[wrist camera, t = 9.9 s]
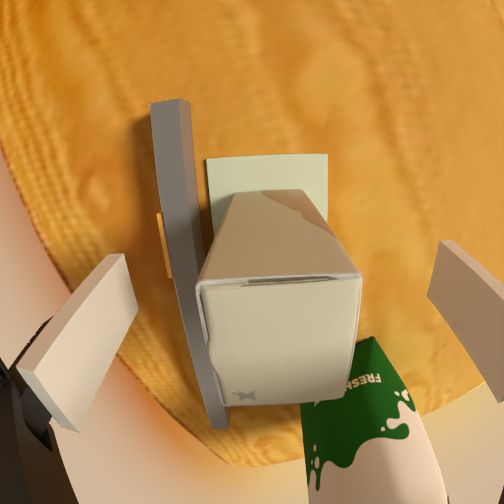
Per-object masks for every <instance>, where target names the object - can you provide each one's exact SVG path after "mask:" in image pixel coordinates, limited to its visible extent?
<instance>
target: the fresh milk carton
mask: <svg viewBox="0 0 504 504" xmlns="http://www.w3.org/2000/svg"><path fill="white" fill-rule="evenodd" d="M300 410H301V422H302V433H303V444H304V454H305V463H306V474H307V485H308V496H309V504H451V500H450V496H449V495H448V497H446V491H445V486H444V482H443V478H442V475H441V472H440V469H439V465H438V463H437V460H436V457H435V455H434V452H433V449H432V447H431V444H430V441H429V439H428V436H427V434H426V431H425V428H424V426H423V424H422V421H421V419H420V416H419V414H418V412H417V409H416V407H415V404H414V402H413V400H412V398H411V396H410V394H409V392H408V390H407V388H406V387H405V385H404V383H403V382H402V380H401V378H400V377H399V375H398V374H397V372H396V371H395V369H394V367H393V366H392V364H391V363H390V361H389V360H388V358H387V356H386V355H385V353H384V352H383V350H382V349H381V347H380V345H379V344H378V342H377V341H376V339H375V338H374V337H372V338H370V339H367V340H365V341H363V342H361V343H359V344H357V345H355V348H354V354H353V359H352V364H351V368H350V374H349V377H348V382H347V386H346V390H345V393H344V396H343V397H342V398H338V399H330V400H322V401H314V402H306V403H300ZM447 502H448V503H447Z"/></svg>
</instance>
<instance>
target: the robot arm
mask: <svg viewBox="0 0 504 504" xmlns="http://www.w3.org/2000/svg"><path fill="white" fill-rule="evenodd" d="M427 297H428V298H429V299H430V300H431V302H432V303H433V304H434V306H435V307H436V308H437V310H438V311H439V312H440V314H441V315H442V317H443V318H444V319H445V321H446V322H447V323H448V325H449V326H450V328H451V329H452V330H453V332H454V333H455V335H456V336H457V338H458V339H459V341H460V342H461V344H462V345H463V346H464V348H465V349H466V351H467V352H468V354H469V356H470V357H471V359H472V360H473V362H474V363H475V365H476V366H477V368H478V370H479V371H480V373H481V374H482V376H483V378H484V379H485V381H486V383H487V384H488V386H489V388H490V389H491V391H492V393H493V394H494V396H495V398H496V400H497V402H498V403H500V402H502V401H504V285H503V284H502V283H501V282H500V281H499V280H498V279H497V278H496V277H495V276H494V275H493V274H492V273H491V272H489V271H488V270H487V269H486V268H485V267H484V266H483V265H482V264H480V263H479V262H478V261H477V260H476V259H475V258H473V257H472V256H471V255H470V254H469V253H468V252H466V251H465V250H464V249H463V248H462V247H460V246H459V245H458V244H457V243H455V242H454V241H453V240H446V241H439V246H438V251H437V256H436V261H435V265H434V269H433V273H432V277H431V281H430V285H429V289H428V293H427ZM138 310H139V307H138V304H137V300H136V297H135V294H134V290H133V287H132V283H131V279H130V276H129V272H128V268H127V264H126V260H125V256H124V253H121V254H108V255H107V256H106V257H105V258H104V259H103V260H102V261H101V262H100V263H99V264H98V265H97V267H96V268H95V269H94V270H93V271H92V272H91V273H90V274H89V275H88V276H87V278H86V279H85V280H84V281H83V282H82V283H81V284H80V286H79V287H78V288H77V289H76V290H75V291H74V292H73V294H72V295H71V296H70V297H69V298H68V300H67V301H66V302H65V303H64V304H63V305H62V307H61V308H60V309H59V310H58V311H57V313H56V314H55V315H54V316H53V317H51V318H50V319H49V320H47V321H46V322H45V323H43V324H42V326H41V327H40V328H39V329H38V331H37V332H36V335H34V336H33V337H32V338H31V340H30V343H27V345H26V346H25V348H24V349H23V350H22V351H21V353H20V354H19V356H18V357H17V358H16V360H15V361H14V363H13V364H12V365H11V367H10V368H9V370H8V369H7V367H6V366H5V364H4V363H3V361H2V360H1V358H0V504H79V503H78V501H77V498H76V496H75V493H74V491H73V488H72V486H71V483H70V481H69V478H68V475H67V473H66V470H65V467H64V464H63V461H62V458H61V455H60V452H59V448H58V445H57V441H56V438H55V434H54V431H53V429H52V427H51V425H50V424H49V421H50V419H51V417H53V418H54V419H55V420H56V422H57V423H58V424H59V425H60V426H61V427H63V428H66V429H69V430H72V431H75V432H80V430H81V428H82V425H83V423H84V421H85V418H86V416H87V414H88V412H89V409H90V407H91V405H92V403H93V401H94V398H95V396H96V394H97V392H98V390H99V387H100V385H101V383H102V381H103V379H104V377H105V375H106V373H107V371H108V369H109V367H110V364H111V362H112V361H113V358H114V356H115V354H116V352H117V351H118V349H119V347H120V345H121V343H122V341H123V339H124V337H125V335H126V333H127V331H128V329H129V327H130V325H131V323H132V322H133V320H134V318H135V316H136V314H137V312H138ZM498 504H504V487H503V491H502V494H501V497H500V500H499V503H498Z"/></svg>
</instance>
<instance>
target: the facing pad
mask: <svg viewBox="0 0 504 504" xmlns="http://www.w3.org/2000/svg"><path fill="white" fill-rule="evenodd" d="M206 161H207V173H208V183H209V194H210V204H211V214H212V223H213V232H214V238H215V236H216V233H217V231H218V229H219V226H220V224H221V222H222V219H223V217H224V214H225V212H226V210H227V208H228V205H229V203H230V201H231V198H232V196H233V194H234V193H237V192H248V191H261V190H282V189H302V190H303V191H304V192H305V193H306V195H307V196H308V197H309V199H310V200H311V201H312V203H313V204H314V205H315V207H316V208H317V210H318V211H319V213H320V214H321V215H322V217H323V218H324V220H325V221H326V223H327V205H328V154H274V155H252V156H235V157H222V158H209V159H206Z"/></svg>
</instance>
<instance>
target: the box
mask: <svg viewBox="0 0 504 504" xmlns="http://www.w3.org/2000/svg"><path fill="white" fill-rule="evenodd" d="M362 281H363V279H362V274H361V273H360V271H359V270H358V268H357V267H356V265H355V264H354V263H353V261H352V260H351V258H350V256H349V255H348V254H347V252H346V251H345V249H344V247H343V246H342V244H341V243H340V241H339V240H338V238H337V237H336V236H335V234H334V233H333V231H332V230H331V228H330V227H329V225H328V224H327V223H326V221H325V220H324V218H323V217H322V215H321V214H320V213H319V211H318V210H317V208H316V207H315V205H314V204H313V203H312V201H311V200H310V199H309V197H308V196H307V195H306V193H305V192H304V191H303V190H302V189H282V190H261V191H248V192H237V193H234V194H233V196H232V198H231V201H230V203H229V205H228V208H227V210H226V212H225V214H224V217H223V219H222V222H221V224H220V226H219V229H218V231H217V233H216V236H215V238H214V241H213V243H212V245H211V248H210V250H209V253H208V255H207V258H206V260H205V262H204V265H203V267H202V270H201V272H200V275H199V277H198V280H197V282H196V286H195V291H196V298H197V304H198V309H199V315H200V320H201V325H202V330H203V334H204V339H205V343H206V348H207V352H208V356H209V360H210V364H211V368H212V372H213V376H214V379H215V383H216V386H217V390H218V394H219V397H220V401H221V403H222V405H223V406H226V407H229V406H265V405H283V404H295V403H306V402H314V401H322V400H330V399H338V398H342V397H343V396H344V393H345V390H346V386H347V382H348V377H349V374H350V368H351V364H352V359H353V354H354V348H355V341H356V335H357V327H358V320H359V312H360V303H361V290H362Z"/></svg>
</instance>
